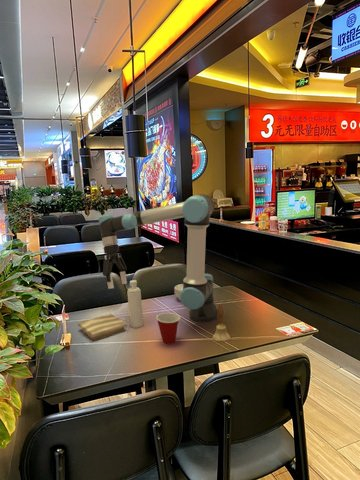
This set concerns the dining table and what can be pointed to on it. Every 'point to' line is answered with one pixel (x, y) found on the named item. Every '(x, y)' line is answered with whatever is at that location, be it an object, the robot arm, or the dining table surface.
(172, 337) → the plastic cup
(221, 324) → the hand bell
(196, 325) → the dining table surface
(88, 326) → the stand
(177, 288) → the paper bowls
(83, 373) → the dining table surface
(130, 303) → the spray bottle
